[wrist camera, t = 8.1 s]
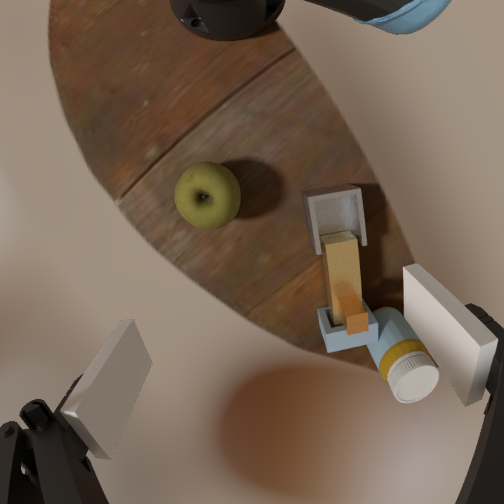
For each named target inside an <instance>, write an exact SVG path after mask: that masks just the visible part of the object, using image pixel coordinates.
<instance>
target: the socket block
mask: <svg viewBox="0 0 504 504" xmlns="http://www.w3.org/2000/svg"><path fill="white" fill-rule="evenodd" d="M362 303H363V305H364V306H365V308H366V310H367V311H368V329H369V331H365V332H361V333H357V334H352V335H347V333H346V330H345V328H344V326H338V327H334V328H332V325H331V323H330V316H329V307H323V308H318V317H319V325H320V329H321V332H322V335H323V338H324V342H325V345H326V348H327V351H328V353H329V352H334V351H339V350H343V349H348V348H352V347H357V346H361V345H365V344H370V343H374V342H378V322H377V320H376V319H375V317H374V315H373V314H372V312H371V311H370V309H369V307H368V306H367V304H366V303H365V301H364V299H362Z"/></svg>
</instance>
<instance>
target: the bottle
mask: <svg viewBox="0 0 504 504" xmlns="http://www.w3.org/2000/svg"><path fill="white" fill-rule="evenodd" d="M372 314H373V315H374V317H375V319H376V320H377V322H378V342H374V343H370V344H366V345H367V347H368V349H369V351H370V353H371V355H372V357H373V359H374V361H375V363H376V366H377V368H378V370H379V372H380V374H381V376H382V377H383V379H385V381H387V382H388V383H389V385H390V387H391V389H392V392H393V394H394V396H395V398H396V399H397V400H398V401H400V402H402V403H412V402H416V401H418V400H420V399H422V398H424V397H425V396H427V395H428V394H429V393H430V392H431V391H432V390H433V389H434V387H435V386H436V384H437V382H438V379H439V373H438V369H437V368H436V366H435V365H434V363H433V362H432V360H431V359H430V358H429V356H428V351H427V349H426V347H425V346H424V344H423V343H422V341H421V340H420V339H419V337H418V336H417V334H416V333H415V332H414V330H413V329H412V327H411V326H410V325H409V323H408V322H407V321H406V319H405V318H404V317H403V315H402V314H401V313H400V312H399V311H398V310H397V309H396V308H393V307H389V306H387V307H381V308H378V309H376V310H374V311H373V312H372Z"/></svg>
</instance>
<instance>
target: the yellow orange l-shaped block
mask: <svg viewBox="0 0 504 504" xmlns="http://www.w3.org/2000/svg"><path fill="white" fill-rule="evenodd" d="M319 237H320V244H321V251H322V258H323V266H324V274H325V282H326V290H327V298H328V307H329V316H330V323H331V325H332V328H334V327H338V326H344V328H345V330H346V333H347V335H352V334H357V333H361V332H365V331H369V329H368V311H367V310H366V308H365V306H364V305H363V303H362V290H361V276H360V263H359V252H358V242H357V238H356V237H355V236H354V235H353V234H352V233H351V232H350V231H344V232H338V233H333V234H328V235H322V236H319Z"/></svg>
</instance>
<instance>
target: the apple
mask: <svg viewBox="0 0 504 504" xmlns="http://www.w3.org/2000/svg"><path fill="white" fill-rule="evenodd" d="M174 198H175V203H176V206H177V209H178V210H179V212H180V214H181V215H182V216H183V217H184V219H186V220H187V221H188V222H189V223H191V224H192V225H194V226H196V227H198V228H202V229H218V228H221V227H223V226H225V225H227V224H228V223H230V222H231V221H232V220H233V218H234V217H235V216H236V214H237V212H238V210H239V207H240V202H241V192H240V186H239V183H238V181H237V179H236V177H235V176H234V175H233V173H232V172H231V171H230V170H229V169H227V168H226V167H224V166H222V165H220V164H217V163H212V162H201V163H197V164H195V165H192V166H191V167H189V168H188V169H187V170H186V171H185V172H184V173H183V174H182V176H181V177H180V179H179V181H178V183H177V185H176V188H175V195H174Z"/></svg>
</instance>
